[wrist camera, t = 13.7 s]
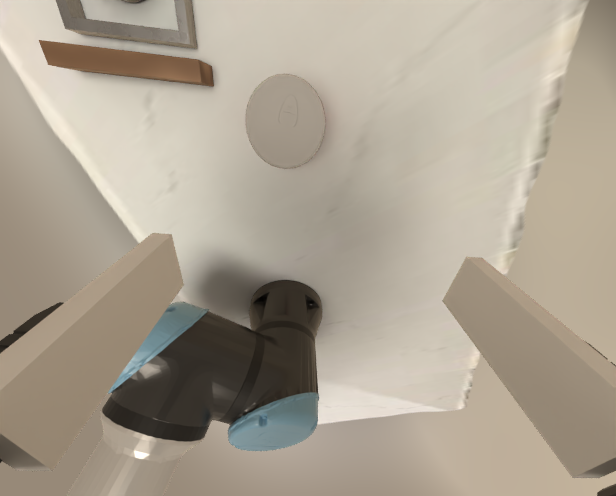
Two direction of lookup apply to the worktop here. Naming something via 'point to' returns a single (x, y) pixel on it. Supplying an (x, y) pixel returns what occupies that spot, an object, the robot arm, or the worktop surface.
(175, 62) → the door edge rail
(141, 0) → the supplement bottle
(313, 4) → the worktop surface
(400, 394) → the worktop surface
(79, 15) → the frame
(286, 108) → the canned food
